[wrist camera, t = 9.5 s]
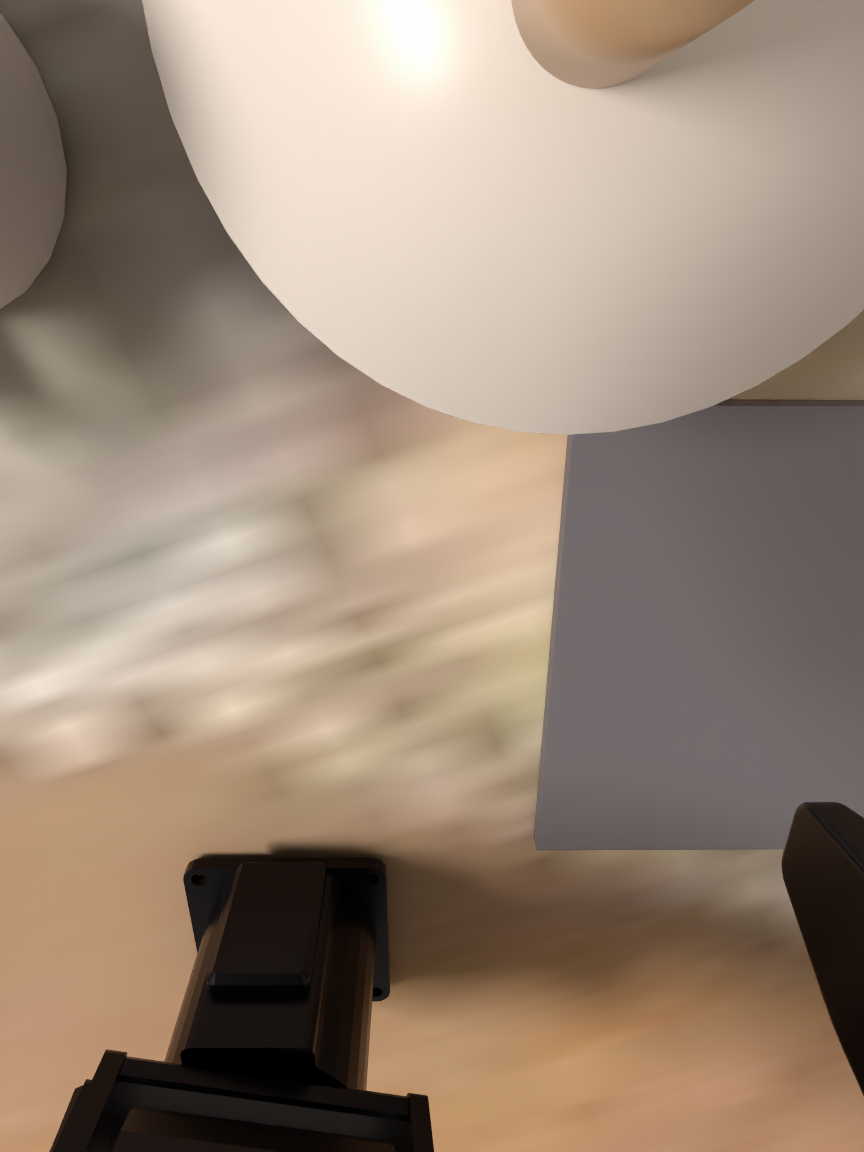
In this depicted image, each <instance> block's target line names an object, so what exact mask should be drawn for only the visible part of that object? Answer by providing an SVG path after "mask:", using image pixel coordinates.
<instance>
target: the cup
mask: <svg viewBox="0 0 864 1152" xmlns="http://www.w3.org/2000/svg"><path fill="white" fill-rule="evenodd" d="M66 177H67V168H66V163H65V157H64V151H63V146H62V140H61V134H60V128H59V123H58V118H57V115H56V113H55V110H54V108H53V106H52V103H51V101H50V98H49V96H48V93H47V91H46V88H45V86H44V84H43V81H42V79H41V76H40V74H39V71H38V69H37V66H36V64H35V63H34V61H33V60H32V58H31V57H30V55H29V54H28V52H27V51H26V49H25V48H24V46H23V45H22V43H21V42H20V40H19V39H18V37H17V36H16V34H15V33H14V31H13V30H12V28H11V27H10V25H9V24H8V22H7V21H6V19H5V17H4V16H3V15H2V14H1V13H0V309H1V308H3V307H4V306H6V305H7V304H9V303H10V302H11V301H13V300H14V299H16V298H17V297H19V296H20V295H22V294H23V293H25V292H26V291H27V290H28V288H29V287H30V286H31V284H32V283H33V282H34V280H35V279H36V278H37V276H38V275H39V273H40V272H41V271H42V269H43V268H44V267H45V265H46V264H47V263H48V261H49V260H50V258H51V255H52V252H53V249H54V246H55V243H56V240H57V238H58V235H59V232H60V229H61V226H62V223H63V220H64V211H65V194H66Z"/></svg>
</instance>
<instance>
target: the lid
mask: <svg viewBox="0 0 864 1152" xmlns="http://www.w3.org/2000/svg"><path fill="white" fill-rule="evenodd" d="M142 3H143V8H144V14H145V19H146V24H147V30H148V35H149V40H150V46H151V50H152V54H153V57H154V61H155V64H156V67H157V71H158V74H159V77H160V81H161V84H162V87H163V91H164V94H165V97H166V101H167V104H168V108H169V111H170V114H171V118H172V120H173V122H174V125H175V127H176V129H177V132H178V134H179V137H180V139H181V141H182V144H183V146H184V149H185V151H186V153H187V156H188V158H189V161H190V163H191V165H192V168H193V170H194V172H195V175H196V177H197V179H198V181H199V183H200V185H201V187H202V188H203V190H204V192H205V194H206V196H207V197H208V199H209V201H210V203H211V205H212V206H213V208H214V210H215V212H216V214H217V215H218V217H219V219H220V221H221V223H222V224H223V226H224V228H225V230H226V232H227V233H228V235H229V236H230V238H231V239H232V240H233V242H234V243H235V245H236V246H237V247H238V249H239V250H240V252H241V253H242V254H243V256H244V257H245V259H246V260H247V261H248V263H249V264H250V266H251V267H252V268H253V270H254V271H255V273H256V274H257V275H258V277H259V278H260V280H261V281H262V282H263V283H264V284H265V285H266V286H267V288H268V289H269V290H270V291H271V292H272V293H273V294H274V295H275V296H276V297H277V299H278V300H279V301H280V302H281V303H282V304H283V305H284V306H285V307H286V308H287V310H288V311H289V312H290V313H291V314H292V315H293V316H294V317H295V318H296V319H297V321H298V322H299V323H300V324H302V325H303V326H304V327H305V328H306V329H307V330H309V331H310V332H311V333H312V334H313V335H314V336H316V337H317V338H318V339H319V340H320V341H321V342H323V343H324V344H325V345H326V346H327V347H328V348H329V349H331V350H332V351H333V352H334V353H335V354H336V355H338V356H339V357H340V358H342V359H343V360H345V361H346V362H348V363H349V364H351V365H352V366H354V367H355V368H357V369H358V370H360V371H361V372H363V373H364V374H366V375H367V376H369V377H370V378H372V379H373V380H375V381H376V382H378V383H379V384H381V385H382V386H385V387H387V388H389V389H391V390H393V391H395V392H397V393H399V394H401V395H403V396H405V397H407V398H409V399H411V400H413V401H415V402H417V403H419V404H421V405H423V406H425V407H428V408H431V409H434V410H437V411H439V412H442V413H445V414H448V415H451V416H454V417H457V418H460V419H463V420H466V421H469V422H472V423H477V424H482V425H487V426H492V427H497V428H502V429H507V430H512V431H517V432H531V433H546V434H561V435H571V434H586V433H602V432H615V431H620V430H626V429H631V428H636V427H641V426H646V425H652V424H657V423H662V422H665V421H668V420H671V419H675V418H678V417H681V416H684V415H687V414H690V413H693V412H696V411H699V410H703V409H706V408H709V407H711V406H713V405H716V404H718V403H720V402H722V401H724V400H727V399H729V398H731V397H733V396H735V395H738V394H740V393H742V392H744V391H746V390H749V389H751V388H753V387H755V386H757V385H759V384H761V383H762V382H764V381H766V380H767V379H769V378H771V377H772V376H774V375H776V374H777V373H779V372H781V371H782V370H784V369H786V368H787V367H789V366H791V365H792V364H794V363H796V362H797V361H799V360H801V359H802V358H804V357H805V356H807V355H808V354H809V353H811V352H812V351H813V350H815V349H816V348H817V347H819V346H820V345H821V344H823V343H824V342H825V341H827V340H828V339H829V338H830V337H832V336H833V335H834V334H836V333H837V332H838V331H840V330H841V329H842V328H844V327H845V326H846V325H848V324H849V323H850V322H851V321H852V320H853V319H854V318H855V317H857V316H858V315H859V314H860V313H861V312H862V311H863V310H864V0H142Z"/></svg>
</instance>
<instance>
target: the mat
mask: <svg viewBox="0 0 864 1152" xmlns="http://www.w3.org/2000/svg"><path fill="white" fill-rule="evenodd" d="M805 802H838V803H841V804H844V805H845V806H847V807H849V808H850V809H852V810H853V811H855V812H856V813H858V814H859V815H861V816H862V817H864V400H724V401H722V402H720V403H718V404H716V405H713V406H711V407H709V408H706V409H703V410H699V411H696V412H693V413H690V414H687V415H684V416H681V417H678V418H675V419H671V420H668V421H665V422H662V423H657V424H652V425H646V426H641V427H636V428H631V429H626V430H620V431H615V432H602V433H586V434H571V435H568V439H567V451H566V463H565V475H564V487H563V498H562V510H561V522H560V534H559V546H558V558H557V569H556V581H555V593H554V605H553V617H552V629H551V640H550V652H549V664H548V676H547V688H546V700H545V711H544V723H543V735H542V747H541V759H540V771H539V782H538V794H537V806H536V818H535V830H534V839H535V844H536V850H706V849H785V845H786V842H787V838H788V835H789V831H790V827H791V824H792V820H793V817H794V813H795V811H796V809H797V807H798V806H799V805H800V804H802V803H805Z"/></svg>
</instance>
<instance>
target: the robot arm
mask: <svg viewBox="0 0 864 1152" xmlns="http://www.w3.org/2000/svg"><path fill="white" fill-rule="evenodd" d="M370 873H371V874H375V875H368V874H370ZM198 874H200V875H198ZM782 874H783V879H784V882H785V886H786V889H787V892H788V895H789V898H790V901H791V904H792V907H793V910H794V913H795V916H796V919H797V922H798V925H799V928H800V931H801V934H802V937H803V940H804V943H805V946H806V949H807V952H808V955H809V958H810V961H811V964H812V967H813V970H814V973H815V976H816V979H817V982H818V985H819V988H820V991H821V994H822V997H823V1000H824V1002H825V1005H826V1008H827V1011H828V1013H829V1016H830V1019H831V1022H832V1024H833V1027H834V1029H835V1032H836V1034H837V1036H838V1039H839V1041H840V1043H841V1046H842V1048H843V1051H844V1053H845V1055H846V1057H847V1060H848V1062H849V1064H850V1066H851V1068H852V1071H853V1073H854V1075H855V1077H856V1080H857V1082H858V1084H859V1086H860V1089H861V1091H862V1093H863V1095H864V817H862V816H861V815H859V814H858V813H856V812H855V811H853V810H852V809H850V808H849V807H847V806H845V805H844V804H841V803H838V802H805V803H802V804H800V805H799V806H798V807H797V809H796V811H795V813H794V817H793V820H792V824H791V827H790V831H789V835H788V838H787V842H786V845H785V849H784V852H783V857H782ZM201 875H203V876H201ZM183 880H184V886H185V891H186V896H187V901H188V906H189V911H190V917H191V922H192V927H193V932H194V937H195V942H196V948H197V953H198V954H197V957H196V960H195V964H194V967H193V970H192V973H191V977H190V980H189V983H188V986H187V990H186V993H185V996H184V999H183V1003H182V1006H181V1009H180V1013H179V1016H178V1019H177V1022H176V1026H175V1029H174V1032H173V1035H172V1039H171V1042H170V1045H169V1048H168V1052H167V1055H166V1058H165V1061H164V1062H162V1061H155V1060H148V1059H141V1058H134V1057H127V1052H121V1051H114V1050H106V1051H105V1053H104V1055H103V1057H102V1060H101V1062H100V1064H99V1066H98V1068H97V1070H96V1073H95V1075H94V1077H93V1079H92V1080H89V1079H86V1081H85V1083H84V1085H83V1086H80V1087H78V1088H76V1089H75V1090H74V1093H73V1095H72V1098H71V1100H70V1103H69V1105H68V1108H67V1110H66V1113H65V1115H64V1118H63V1120H62V1123H61V1125H60V1128H59V1130H58V1133H57V1135H56V1138H55V1140H54V1142H53V1145H52V1147H51V1149H50V1151H49V1152H434V1147H433V1138H432V1129H431V1120H430V1111H429V1102H428V1096H427V1095H420V1094H413V1093H408V1094H407V1096H399V1095H392V1094H385V1093H378V1092H372V1091H366V1083H367V1068H368V1054H369V1039H370V1024H371V1009H372V1001H382V1000H384V999H386V998H387V997H388V996H389V993H390V956H389V923H388V890H387V868H386V865H385V864H384V863H383V862H382V861H380V860H378V859H373V858H297V859H196V860H193V861H191V862H190V863H189V864H188V866H187V868H186V871H185V874H184V879H183Z"/></svg>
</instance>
